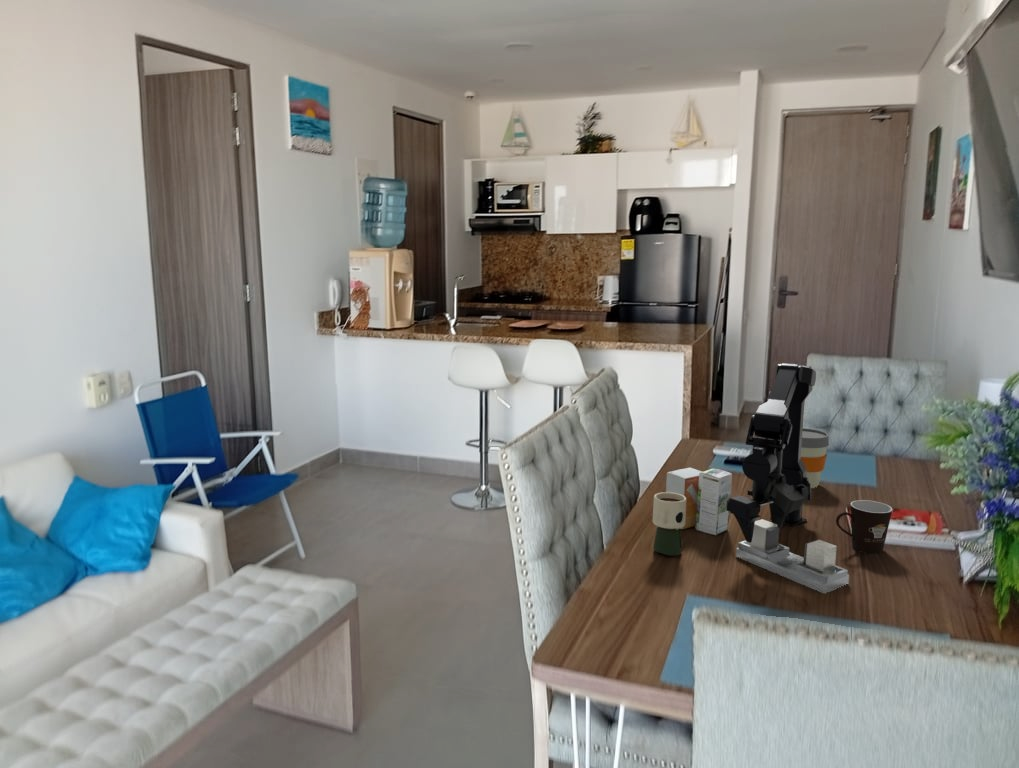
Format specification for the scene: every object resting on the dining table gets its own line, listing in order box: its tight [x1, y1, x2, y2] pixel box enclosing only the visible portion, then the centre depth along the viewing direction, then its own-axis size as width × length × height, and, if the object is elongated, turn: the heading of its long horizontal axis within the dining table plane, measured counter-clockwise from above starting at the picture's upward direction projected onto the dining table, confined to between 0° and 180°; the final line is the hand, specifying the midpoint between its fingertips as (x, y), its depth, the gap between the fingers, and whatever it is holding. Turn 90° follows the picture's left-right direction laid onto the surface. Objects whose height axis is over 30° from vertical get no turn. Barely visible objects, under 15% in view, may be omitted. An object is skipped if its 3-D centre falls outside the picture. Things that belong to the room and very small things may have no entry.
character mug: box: [652, 491, 686, 557], centre depth 173 cm, size 11×7×13 cm, turn 152°
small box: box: [665, 466, 703, 530], centre depth 191 cm, size 8×6×13 cm
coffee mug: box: [835, 499, 893, 554], centre depth 177 cm, size 12×9×10 cm
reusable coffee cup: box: [801, 427, 830, 489], centre depth 223 cm, size 13×13×15 cm
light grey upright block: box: [749, 519, 780, 553], centre depth 170 cm, size 4×5×6 cm
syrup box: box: [694, 468, 733, 536], centre depth 186 cm, size 6×6×14 cm
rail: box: [735, 539, 850, 595], centre depth 164 cm, size 8×22×8 cm, turn 34°
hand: (762, 537), depth 170 cm, fingers open, 9 cm apart
